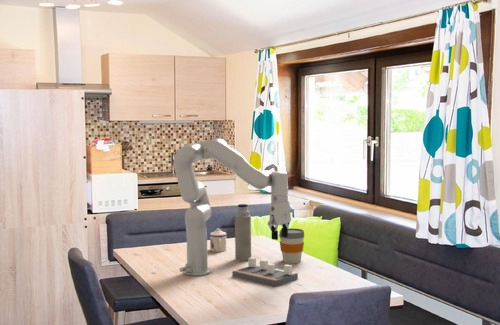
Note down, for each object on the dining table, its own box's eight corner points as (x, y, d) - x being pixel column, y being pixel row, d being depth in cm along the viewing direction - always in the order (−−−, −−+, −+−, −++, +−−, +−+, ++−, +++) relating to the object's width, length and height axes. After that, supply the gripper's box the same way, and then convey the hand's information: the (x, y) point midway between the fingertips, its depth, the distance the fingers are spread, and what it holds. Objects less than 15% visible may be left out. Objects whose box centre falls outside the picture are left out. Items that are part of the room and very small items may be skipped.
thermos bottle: (236, 257, 323) (235, 203, 321) (251, 257, 323) (251, 203, 320) (234, 261, 315) (233, 205, 313) (250, 261, 315) (249, 205, 312)
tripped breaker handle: (272, 273, 281) (271, 265, 280) (266, 272, 283) (266, 264, 282) (274, 272, 282) (274, 264, 282) (269, 271, 284) (269, 263, 284)
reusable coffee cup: (289, 256, 325) (288, 227, 324) (309, 259, 317) (309, 230, 316) (274, 261, 316) (274, 231, 314) (294, 264, 308) (294, 234, 306)
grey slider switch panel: (275, 286, 271) (275, 271, 270) (232, 276, 287) (232, 262, 287) (297, 278, 283) (297, 264, 282) (255, 269, 299) (255, 255, 299)
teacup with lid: (209, 248, 344) (208, 227, 343) (225, 247, 345) (225, 226, 344) (211, 253, 332) (211, 231, 331) (228, 252, 333) (228, 231, 332)
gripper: (273, 201, 275) (274, 242, 277) (297, 197, 288) (297, 236, 290) (260, 200, 280) (261, 240, 282) (284, 195, 293) (285, 234, 295)
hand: (279, 237), depth 286 cm, fingers open, 6 cm apart
